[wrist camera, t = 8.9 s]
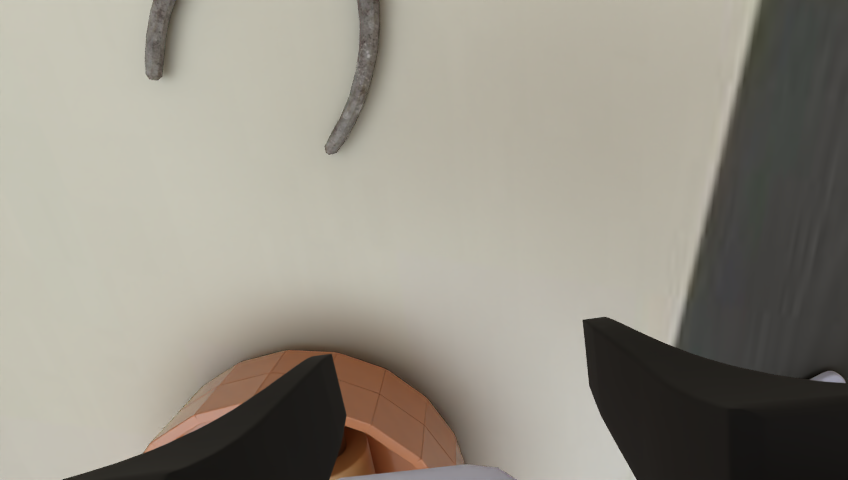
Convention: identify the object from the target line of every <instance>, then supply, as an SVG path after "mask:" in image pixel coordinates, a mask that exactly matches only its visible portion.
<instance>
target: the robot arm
mask: <svg viewBox="0 0 848 480" xmlns="http://www.w3.org/2000/svg"><path fill="white" fill-rule="evenodd" d="M583 327H584V337H585V347H586V357H587V367H588V377H589V386H590V389H591V391H592V394H593V397H594V399H595V402H596V404H597V407H598V409H599V412H600V414H601V417H602V418H603V420H604V422H605V424H606V426H607V428H608V429H609V431H610V433H611V435H612V437H613V438H614V440H615V442H616V444H617V445H618V447H619V449H620V451H621V453H622V454H623V456H624V458H625V460H626V461H627V463H628V465H629V467H630V469H631V470H632V472H633V474H634V476H635V477H636V479H637V480H848V383H846V382H845V380H844V378H843V377H842V376H841V375H839V374H838V373H836V372H834V371H826V372H823V373H821V374H819V375H817V376H815V377H813V378H811V379H809V380H808V379H800V378H792V377H786V376H780V375H774V374H768V373H763V372H758V371H754V370H749V369H744V368H740V367H736V366H731V365H727V364H724V363H720V362H717V361H714V360H710V359H707V358H703V357H700V356H697V355H694V354H691V353H689V352H686V351H683V350H681V349H678V348H675V347H673V346H670V345H668V344H665V343H663V342H661V341H658V340H656V339H654V338H652V337H649V336H647V335H645V334H643V333H641V332H638V331H636V330H634V329H632V328H630V327H628V326H626V325H624V324H622V323H619V322H617V321H615V320H613V319H610V318H607V317H601V318H593V319H586V320H583ZM346 416H347V414H346V410H345V406H344V402H343V398H342V394H341V390H340V385H339V381H338V377H337V373H336V369H335V365H334V361H333V357H332V354H325V355H318V356H311V357H309V358H307V359H306V360H304V361H302V362H301V363H299V364H298V365H296V366H295V367H294V368H292V369H291V370H289V371H288V372H287V373H285V374H284V375H283V376H281V377H280V378H278V379H277V380H276V381H274V382H273V383H271V384H270V385H269V386H267V387H266V388H265V389H263V390H262V391H260V392H259V393H257V394H256V395H254V396H253V397H251V398H250V399H248V400H247V401H245V402H244V403H242V404H241V405H239V406H238V407H236V408H235V409H233V410H231V411H230V412H228V413H226V414H225V415H223V416H221V417H219V418H218V419H216V420H214V421H212V422H210V423H209V424H207V425H205V426H203V427H201V428H199V429H197V430H195V431H193V432H191V433H189V434H187V435H184V436H182V437H180V438H178V439H176V440H174V441H172V442H169V443H167V444H165V445H163V446H160V447H158V448H155V449H153V450H151V451H148V452H146V453H143V454H140V455H138V456H135V457H132V458H130V459H127V460H124V461H121V462H118V463H115V464H113V465H109V466H106V467H103V468H100V469H96V470H93V471H90V472H87V473H83V474H80V475H77V476H73V477H70V478H66V479H63V480H329V479H330V476H331V474H332V471H333V468H334V465H335V462H336V459H337V456H338V453H339V450H340V447H341V443H342V438H343V433H344V427H345V421H346ZM337 480H516V479H515V478H513V477H512V476H510V475H509V474H507V473H506V472H504V471H502V470H501V469H499V468H496V467H487V466H479V465H470V464H465V465H455V466H446V467H437V468H427V469H418V470H409V471H399V472H390V473H381V474H371V475H362V476H353V477H343V478H339V479H337Z"/></svg>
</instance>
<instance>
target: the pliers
mask: <svg viewBox="0 0 848 480" xmlns="http://www.w3.org/2000/svg"><path fill="white" fill-rule="evenodd" d="M175 1H176V0H153V4H152V7H151V11H150V16H149V22H148V28H147V34H146V48H145V70H146V75H147V76H148V78H149V79H151V80H159V79H160V78H161V77H162V72H163V62H164V50H165V40H166V35H167V29H168V24H169V19H170V16H171V13H172V10H173V7H174V4H175ZM357 1H358V10H359V18H360V42H359V53H358V60H357V66H356V72H355V76H354V80H353V83H352V87H351V91H350V95H349V98H348V100H347V102H346V105H345V107H344V110H343V112H342V115H341V117H340V119H339V121H338V122H337V124H336V126H335V128H334V130H333V131H332V133H331V135H330V137H329V139H328V141H327V143H326V145H325V150H326V153H327V154H328V155H330V154H334V153H337V151H338V150H339V149H340V147H341V146H342V145H343V143H344V142H345V140H346V139H347V137H348V135H349V133H350V132H351V130H352V128H353V126H354V125H355V123H356V120H357V118H358V116H359V113H360V111H361V109H362V107H363V104H364V102H365V99H366V95H367V92H368V89H369V86H370V83H371V79H372V76H373V71H374V66H375V62H376V57H377V53H378V42H379V31H380V13H379V0H357Z"/></svg>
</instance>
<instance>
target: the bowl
mask: <svg viewBox="0 0 848 480" xmlns="http://www.w3.org/2000/svg"><path fill="white" fill-rule="evenodd" d="M325 354H332V357H333V361H334V365H335V369H336V373H337V377H338V381H339V385H340V390H341V394H342V398H343V402H344V406H345V410H346V414H347V416H346V421H345V426H347V427H350V428H353V429H356V430H359V431H362V432H364V433H365V435H366V436H367V439H368V443H369V448H370V452H371V456H372V461H373V465H374V469H375V473H376V474H381V473H390V472H399V471H409V470H418V469H427V468H437V467H446V466H455V465H465V463H464V460H463V457H462V454H461V451H460V448H459V445H458V442H457V439H456V436H455V434H454V433H453V431H452V430H451V429H450V427H449V426H448V425H447V424H446V422H445V421H444V420H443V418H442V417H441V416H440V414H439V413H438V412H437V410H436V409H435V408H434V406H433V405H432V404H431V403H430V401H429V400H428V399H427V398H426V397H425V396H424V395H423V394H421V393H420V392H418V391H417V390H416V389H414V388H413V387H411V386H410V385H408V384H407V383H406V382H404V381H403V380H401V379H400V378H399V377H397V376H396V375H394V374H393V373H391V372H390V371H389V370H387V369H385V368H382V367H379V366H376V365H373V364H370V363H368V362H365V361H362V360H359V359H356V358H353V357H350V356H347V355H344V354H341V353H337V352H322V351H301V350H287V351H286V350H285V351H281V352H277V353H273V354H269V355H265V356H261V357H257V358H253V359H250V360H246V361H242V362H240V363H237V364H236V365H234V366H233V367H231V368H230V369H228V370H227V371H225V372H224V373H222V374H221V375H219V376H218V377H216V378H215V379H213V380H212V381H210V382H208V383H207V384H205V385H204V386H203V387H202V388H201V389H200V390H199V391H198V392H197V393H196V394H195V395H194V396H193V397H192V398H191V400H190V401H189V402H188V403H187V404H186V405H185V406H184V407H183V408H182V409H181V410H180V411H179V413H178V414H177V415H176V416H175V417H174V418H173V419H172V420H171V421H170V422H169V423H168V424H167V425H166V426H165V428H164V429H163V430H162V431H161V432H160V433H159V434H158V435H157V436H156V437H155V438H154V439H153V441H152V442H151V443H150V444H149V445H148V447H147V448H146V450H145V451H144V452H143V453H146V452H148V451H151V450H153V449H155V448H158V447H160V446H163V445H165V444H167V443H169V442H172V441H174V440H176V439H178V438H180V437H182V436H184V435H187V434H189V433H191V432H193V431H195V430H197V429H199V428H201V427H203V426H205V425H207V424H209V423H210V422H212V421H214V420H216V419H218V418H219V417H221V416H223V415H225V414H226V413H228V412H230V411H231V410H233V409H235V408H236V407H238V406H239V405H241V404H242V403H244V402H245V401H247V400H248V399H250V398H251V397H253V396H254V395H256V394H257V393H259V392H260V391H262V390H263V389H265V388H266V387H267V386H269V385H270V384H271V383H273V382H274V381H276V380H277V379H278V378H280V377H281V376H283V375H284V374H285V373H287V372H288V371H289V370H291V369H292V368H294V367H295V366H296V365H298V364H299V363H301V362H302V361H304V360H306V359H307V358H309V357H311V356H318V355H325Z"/></svg>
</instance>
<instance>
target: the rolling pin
mask: <svg viewBox="0 0 848 480" xmlns="http://www.w3.org/2000/svg"><path fill="white" fill-rule="evenodd" d="M371 474H376V473H375V469H374V465H373V461H372V456H371V452H370V448H369V443H368V439H367V436H366V435H365V433H364V432H362V431H359V430H356V429H353V428H350V427H347V426H345V427H344V433H343V438H342V443H341V447H340V450H339V453H338V456H337V459H336V462H335V465H334V468H333V471H332V474H331V476H330V479H329V480H337V479H339V478H343V477H353V476H362V475H371Z"/></svg>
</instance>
